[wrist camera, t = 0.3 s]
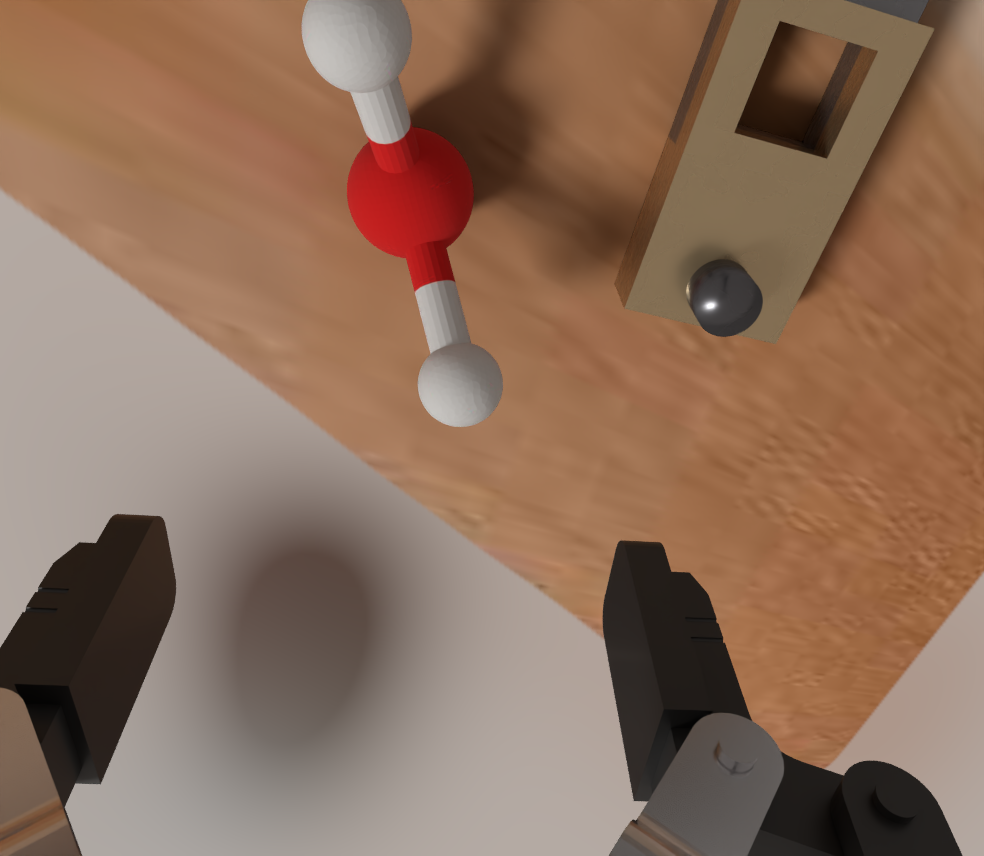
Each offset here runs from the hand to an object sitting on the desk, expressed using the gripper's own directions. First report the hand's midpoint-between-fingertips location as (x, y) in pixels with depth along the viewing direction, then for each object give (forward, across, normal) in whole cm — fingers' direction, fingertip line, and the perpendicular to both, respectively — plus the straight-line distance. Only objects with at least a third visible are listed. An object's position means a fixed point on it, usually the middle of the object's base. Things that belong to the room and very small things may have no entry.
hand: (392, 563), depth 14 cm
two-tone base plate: (+27, -15, -4) cm, 31 cm away
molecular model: (+27, +1, +1) cm, 27 cm away
